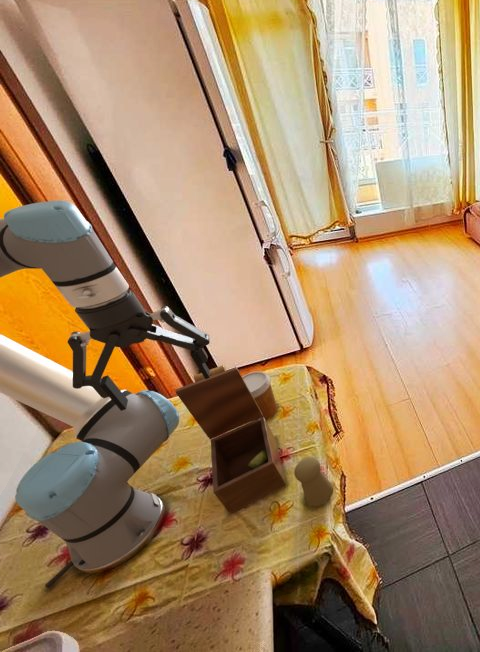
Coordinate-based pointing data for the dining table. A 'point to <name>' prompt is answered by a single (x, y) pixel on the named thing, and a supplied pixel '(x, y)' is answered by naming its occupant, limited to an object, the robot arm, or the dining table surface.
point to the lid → (219, 401)
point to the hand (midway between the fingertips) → (167, 389)
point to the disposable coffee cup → (261, 392)
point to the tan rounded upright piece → (313, 481)
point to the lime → (258, 460)
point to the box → (245, 465)
